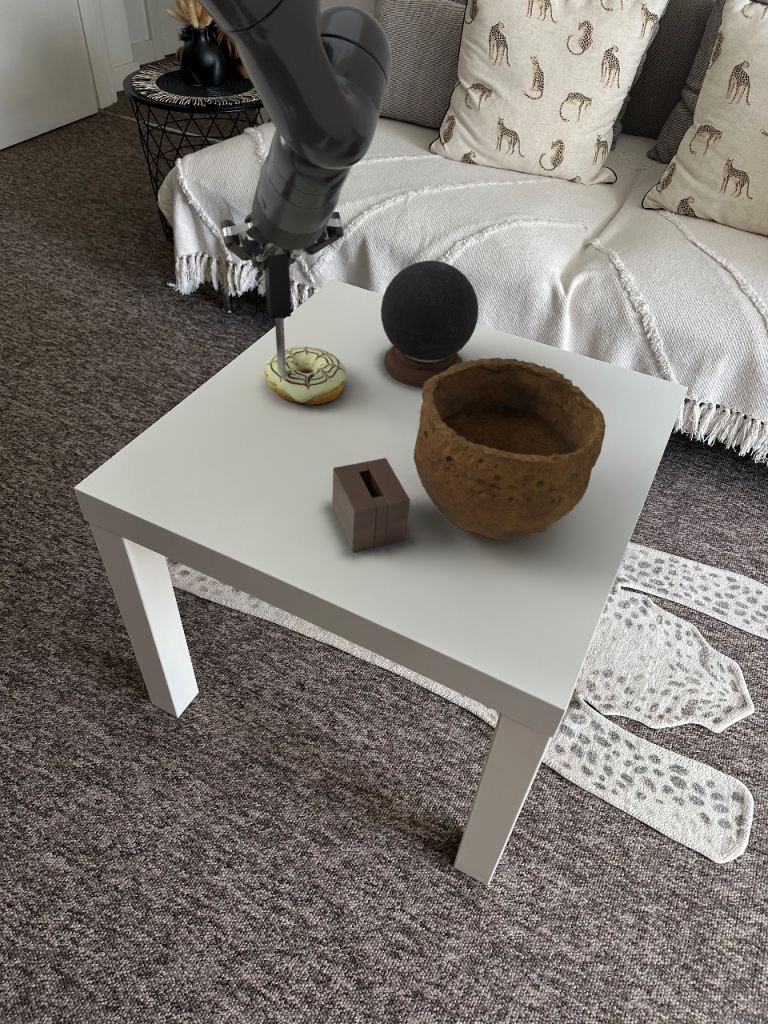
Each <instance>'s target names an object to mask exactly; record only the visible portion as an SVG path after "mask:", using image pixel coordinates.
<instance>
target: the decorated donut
mask: <svg viewBox="0 0 768 1024" xmlns="http://www.w3.org/2000/svg"><path fill="white" fill-rule="evenodd" d="M285 361H286V379H283V377H282V376H281V374H280V372H279V370H278V364H277V353H275V354H273V355H272V356H270V357H269V358H268V359H267V360H266V362H265V365H264V376H265V379H266V380H267V383H268V385H269V387H270V389H271V390H272V391H273V392H274V393H275V394H276V395H277V396H278V397H280V398H282V399H284V400H287V401H289V402H293V403H295V402H296V403H300V404H306V405H308V406H313V405H320V404H325V403H326V402H333V401H335V400H336V399H338V397H339V395H340V394H341V393H342V392H343V390H344V389H345V384H346V382H347V380H348V375H347V371H346V367H345V366H344V364H343V362H342V361H341V360H340V359H339V358H338V357H337V356H336V355H335V354H333V353H332V352H329V351H327V350H324V349H321V348H319V347H312V346H295V347H294V346H293V347H289V348H285Z"/></svg>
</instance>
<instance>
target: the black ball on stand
mask: <svg viewBox="0 0 768 1024" xmlns="http://www.w3.org/2000/svg"><path fill="white" fill-rule="evenodd" d="M383 293H384V294H383V295H382V301H381V307H380V318H381V319H380V320H381V324H382V328H383V331H384V333H385V335H386V337H387V339H388V340H389V342H390V344H391V345H392V346H391V347H390V348H389V349H388V350H387V351H386V352H385V354H384V361H383V365H384V369H385V371H386V373H387V374H389V376H390V377H392V378H393V379H394V380H396V381H398V382H400V383H402V384H403V385H408V386H411V387H416V388H422V389H423V385H424V383H425V382H426V381H427V380H429V379H430V378H431V377H433V376H435V375H439V374H440V373H442V372H444V371H447V370H448V368H449V367H450V366H453V365H455V364H457V363H463V361H462V358H461V357H460V356H459V352H460V351H461V350H462V349H463V348H464V347H465V346H466V345H467V344H468V342H469V341H470V340H471V338H472V336H473V334H474V332H475V330H476V328H477V324H478V320H479V301H478V297H477V293H476V291H475V289H474V286H473V285H472V283H471V282H470V280H469V279H468V278H467V276H466V275H465V274H464V273H463V272H462V271H460V270H459V269H458V268H456V267H455V266H454V265H451V264H449V263H446V262H442V261H439V260H423V261H418V262H414V263H412V264H410V265H408V266H406V267H404V268H403V269H402V270H400V271H399V272H398V273H397V274H396V275H395V276H394V277H393V278H392V279H391V281H390V282H389V284H388V285H387V286H386V289H385V291H384V292H383Z"/></svg>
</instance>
